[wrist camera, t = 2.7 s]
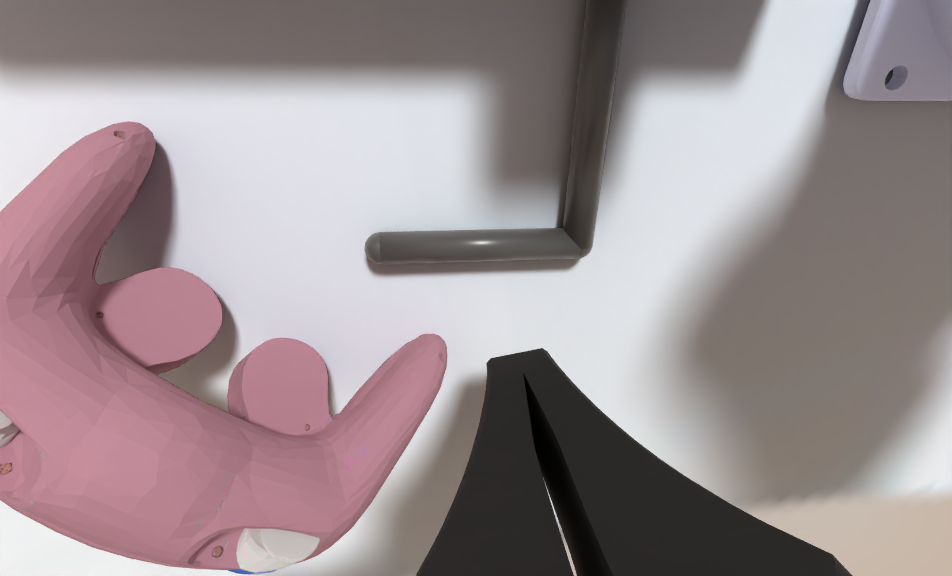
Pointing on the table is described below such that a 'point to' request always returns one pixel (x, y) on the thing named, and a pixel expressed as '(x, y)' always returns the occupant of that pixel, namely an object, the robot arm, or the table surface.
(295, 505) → the video game controller
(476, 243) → the power strip
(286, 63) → the table surface
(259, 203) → the table surface
